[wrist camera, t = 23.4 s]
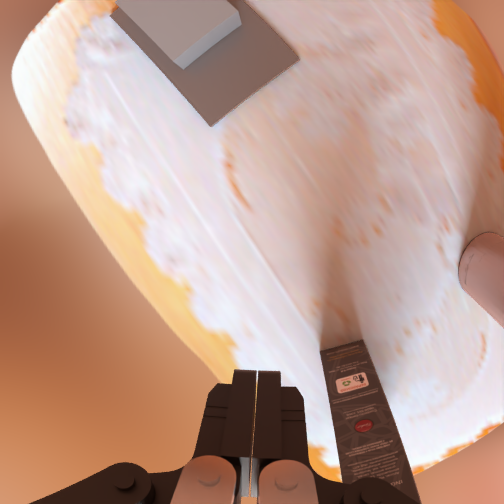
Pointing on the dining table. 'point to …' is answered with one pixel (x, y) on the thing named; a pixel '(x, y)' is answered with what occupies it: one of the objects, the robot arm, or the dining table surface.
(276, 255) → the dining table surface
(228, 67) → the slate board
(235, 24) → the slab
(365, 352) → the cake mix box
